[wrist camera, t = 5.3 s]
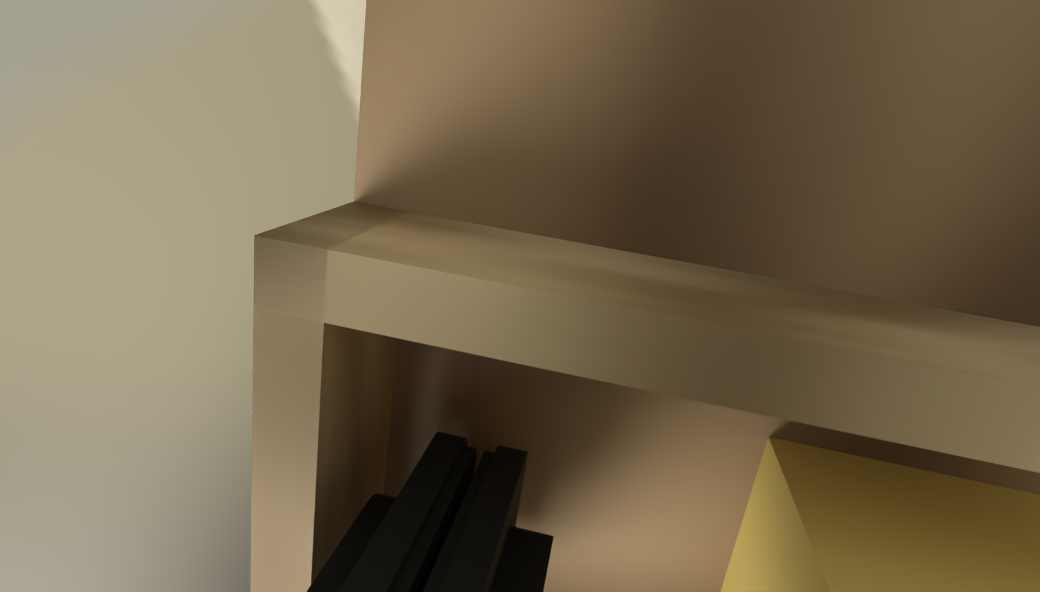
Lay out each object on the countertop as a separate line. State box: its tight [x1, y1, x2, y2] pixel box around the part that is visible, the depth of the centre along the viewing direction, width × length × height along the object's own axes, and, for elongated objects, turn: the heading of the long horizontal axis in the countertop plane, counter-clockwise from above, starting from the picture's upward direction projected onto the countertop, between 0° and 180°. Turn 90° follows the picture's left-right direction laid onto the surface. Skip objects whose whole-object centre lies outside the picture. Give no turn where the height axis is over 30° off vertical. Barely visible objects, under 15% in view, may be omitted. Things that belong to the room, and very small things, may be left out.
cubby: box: [250, 202, 1040, 592], centre depth 10 cm, size 13×10×3 cm
